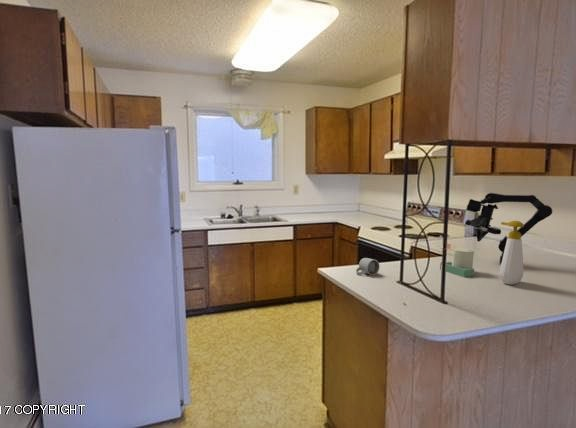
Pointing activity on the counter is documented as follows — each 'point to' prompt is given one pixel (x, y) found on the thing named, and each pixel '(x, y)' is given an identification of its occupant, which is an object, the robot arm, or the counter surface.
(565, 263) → the counter surface
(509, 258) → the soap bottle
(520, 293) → the counter surface
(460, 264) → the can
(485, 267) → the counter surface
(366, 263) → the ceramic mug
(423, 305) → the counter surface
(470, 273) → the green piece
